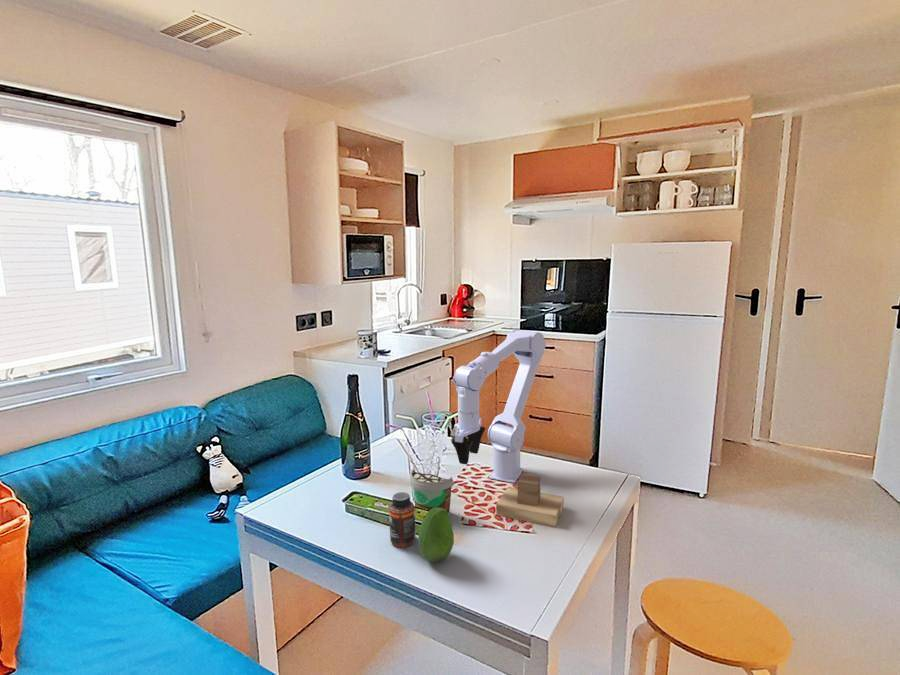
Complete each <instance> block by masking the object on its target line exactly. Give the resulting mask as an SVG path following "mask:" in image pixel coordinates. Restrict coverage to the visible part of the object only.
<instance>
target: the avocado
mask: <svg viewBox="0 0 900 675" xmlns="http://www.w3.org/2000/svg"><path fill="white" fill-rule="evenodd" d="M423 518H424V519H423V520H422V522H421V524H420V527H419V530H418V536H417V537H418V546H419V550H420V553H421V555H422V557H423V558H424V559H426V561H428V562H432V563H438V562H442V561H444V560H445V559H447V558H448V557H449V555H450V554H451V552H452V549H453V548H454V542H455V541H454V537H455V535H454V534H455V533H454V529H453V526H452V521H451V519H450V518H451V517H450V515H449V513H447V511H446V510H445V509H444V508H432V509H431V510H429V511H428V513H427V514H426V516H425V517H423Z"/></svg>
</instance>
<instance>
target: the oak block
mask: <svg viewBox="0 0 900 675" xmlns="http://www.w3.org/2000/svg"><path fill="white" fill-rule="evenodd" d="M517 497H518V487H512V486H507V488H506V489H505V491H504V492H503V493H502V495H501V496H500V498H499V499H498V501H497V502H496V510H495V511H496V512H495V513H496V514H495V516H498V517H499V516H500V517H505V518H509V519H515V520H519V521H523V522H529V523H532V524H533V523H534V524H537V525H543V526H546V527H547V526H548V527H552V528H556V527H557V524H558V521H559V519H560V517H561V514H562V512H563V509H564V499H565V496H560V495H556V494H555V495H554V494H550V493H545V492H540V499H539V502H538V506H531V505H524V504H517Z"/></svg>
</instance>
